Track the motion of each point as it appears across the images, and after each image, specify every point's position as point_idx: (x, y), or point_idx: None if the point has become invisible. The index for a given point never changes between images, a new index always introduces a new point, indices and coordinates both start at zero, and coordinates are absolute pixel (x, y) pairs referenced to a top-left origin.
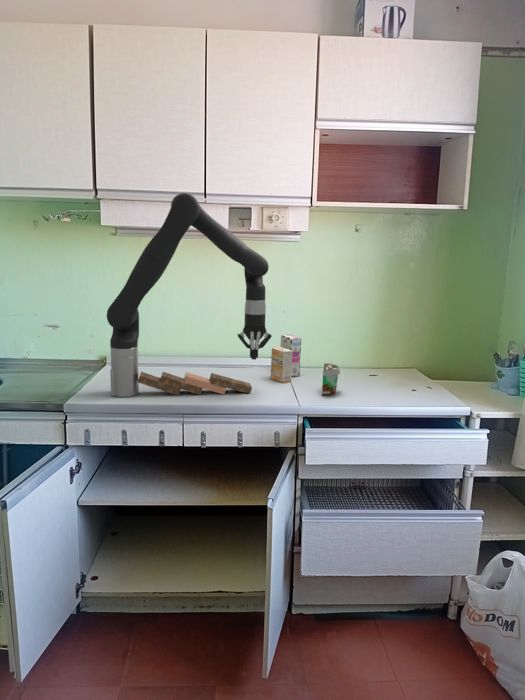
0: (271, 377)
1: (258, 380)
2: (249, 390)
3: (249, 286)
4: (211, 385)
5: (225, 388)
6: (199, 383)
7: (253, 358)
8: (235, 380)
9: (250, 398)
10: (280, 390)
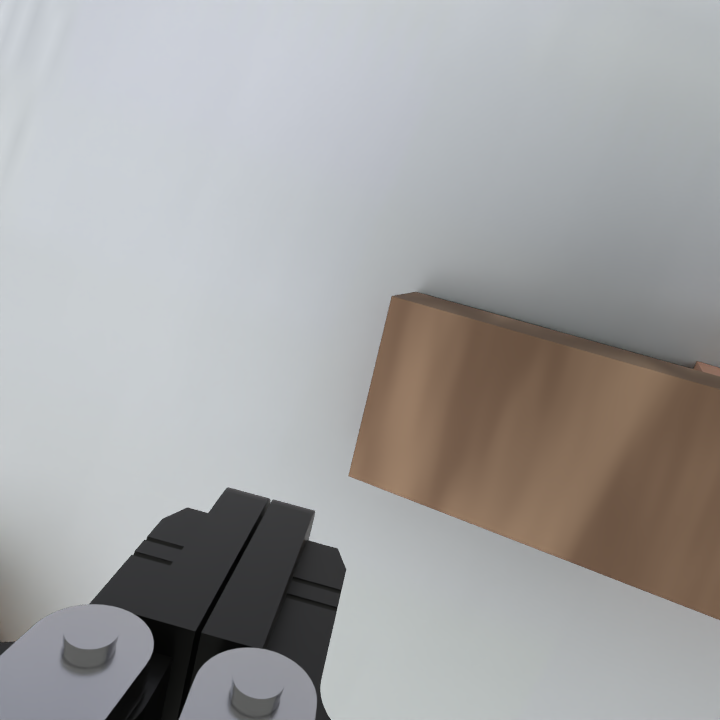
0: None
1: None
2: (423, 299)
3: None
4: None
5: (713, 374)
6: None
7: (288, 506)
8: (545, 488)
9: (484, 125)
10: (61, 302)
